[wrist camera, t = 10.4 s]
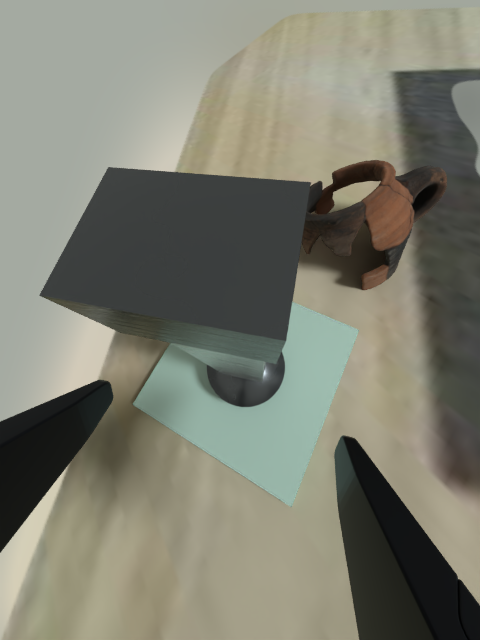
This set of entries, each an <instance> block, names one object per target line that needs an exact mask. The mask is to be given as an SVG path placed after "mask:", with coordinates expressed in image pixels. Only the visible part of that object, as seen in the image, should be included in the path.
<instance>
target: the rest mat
mask: <svg viewBox="0 0 480 640" xmlns="http://www.w3.org/2000/svg"><path fill="white" fill-rule="evenodd" d="M358 332H359V330H358V329H355V328H353V327H351V326H348V325H346V324H344V323H341V322H339V321H337V320H334V319H332V318H329V317H327V316H325V315H322V314H320V313H318V312H315V311H313V310H311V309H308V308H306V307H304V306H301V305H299V304H296V303H294V302H292V307H291V313H290V320H289V326H288V332H287V339H286V343H285V345H284V347H283V349H282V353H283V356H284V361H285V374H284V378H283V381H282V384H281V386H280V388H279V389H278V391H277V392H276V393H275V394H274V395H273V397H271V398H270V399H269V400H268V401H266V402H264V403H262V404H260V405H257V406H253V407H239V406H235V405H231V404H229V403H227V402H226V401H224V400H223V399H221V398H220V397H219V396H218V395H217V394H216V393H215V391H214V390H213V388H212V387H211V385H210V382H209V379H208V375H207V364H205V363H204V362H202V361H200V360H199V359H197V358H195V357H194V356H192V355H190V354H189V353H187V352H185V351H184V350H182V349H180V348H178V347H177V346H175V345H173V344H172V343H170V345H169V346H168V348H167V349H166V351H165V353H164V354H163V356H162V357H161V359H160V361H159V362H158V364H157V366H156V367H155V369H154V370H153V372H152V374H151V375H150V377H149V379H148V380H147V382H146V383H145V385H144V387H143V388H142V390H141V391H140V393H139V395H138V396H137V398H136V400H135V401H134V403H133V404H132V405H134V406H136V407H137V408H139V409H140V410H142V411H143V412H145V413H146V414H148V415H149V416H151V417H153V418H154V419H156V420H157V421H159V422H160V423H162V424H163V425H165V426H166V427H168V428H170V429H171V430H173V431H174V432H176V433H177V434H179V435H180V436H182V437H184V438H185V439H187V440H188V441H190V442H191V443H193V444H194V445H196V446H197V447H199V448H201V449H202V450H204V451H205V452H207V453H208V454H210V455H211V456H213V457H215V458H216V459H218V460H219V461H221V462H222V463H224V464H225V465H227V466H228V467H230V468H232V469H233V470H235V471H236V472H238V473H239V474H241V475H242V476H244V477H245V478H247V479H249V480H250V481H252V482H253V483H255V484H256V485H258V486H259V487H261V488H263V489H264V490H266V491H267V492H269V493H270V494H272V495H273V496H275V497H276V498H278V499H280V500H281V501H283V502H284V503H286V504H287V505H289V506H290V507H292V505H293V502H294V499H295V497H296V494H297V492H298V489H299V486H300V484H301V481H302V478H303V476H304V473H305V471H306V468H307V465H308V463H309V460H310V457H311V455H312V452H313V450H314V447H315V444H316V442H317V439H318V436H319V434H320V431H321V429H322V426H323V423H324V421H325V418H326V416H327V413H328V410H329V408H330V405H331V402H332V400H333V397H334V395H335V392H336V389H337V387H338V384H339V381H340V379H341V376H342V374H343V371H344V368H345V366H346V363H347V361H348V358H349V355H350V353H351V350H352V347H353V345H354V342H355V340H356V337H357V334H358Z"/></svg>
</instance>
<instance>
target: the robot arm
mask: <svg viewBox="0 0 480 640" xmlns="http://www.w3.org/2000/svg"><path fill="white" fill-rule="evenodd" d="M112 401H113V392H112V388H111V384H110V382H108V381H104V380H97V381H95V382H92V383H90V384H88V385H85V386H83V387H81V388H78V389H76V390H74V391H71V392H69V393H67V394H65V395H62V396H59V397H57V398H55V399H52V400H50V401H48V402H46V403H43V404H41V405H38V406H36V407H34V408H31V409H29V410H27V411H24V412H22V413H20V414H17V415H15V416H13V417H10V418H8V419H6V420H3V421H1V422H0V552H1V551H2V550H3V549H4V547H5V546H6V545H7V543H8V542H9V541H10V540H11V538H12V537H13V536H14V534H15V533H16V532H17V530H18V529H19V528H20V527H21V525H22V524H23V523H24V521H25V520H26V519H27V518H28V516H29V515H30V513H31V512H32V511H33V510H34V508H35V507H36V506H37V505H38V503H39V502H40V501H41V499H42V498H43V497H44V496H45V494H46V493H47V492H48V490H49V489H50V488H51V486H52V485H53V484H54V482H55V481H56V480H57V478H58V477H59V476H60V475H61V474H62V472H63V471H64V470H65V468H66V467H67V466H68V464H69V463H70V462H71V461H72V459H73V458H74V457H75V455H76V454H77V453H78V451H79V450H80V449H81V448H82V446H83V445H84V444H85V442H86V441H87V440H88V438H89V437H90V435H91V434H92V432H93V431H94V429H95V428H96V426H97V425H98V423H99V422H100V420H101V418H102V417H103V415H104V414H105V412H106V411H107V409H108V408H109V406H110V404H111V403H112ZM335 473H336V488H337V502H338V511H339V518H340V524H341V530H342V537H343V543H344V549H345V555H346V561H347V567H348V573H349V579H350V585H351V592H352V598H353V604H354V610H355V616H356V622H357V628H358V634H359V640H480V605H479V604H478V602H477V601H476V600H475V598H474V597H473V596H472V594H471V593H470V592H469V590H468V589H467V588H466V586H465V585H464V584H463V582H462V581H461V580H460V579H458V576H457V574H456V573H455V572H454V570H453V569H452V568H451V566H450V565H449V564H448V562H447V561H446V560H445V558H444V557H443V556H442V554H441V553H440V552H439V550H438V549H437V548H436V546H435V545H434V544H433V542H432V541H431V539H430V538H429V537H428V535H427V534H426V533H425V531H424V530H423V529H422V527H421V526H420V525H419V523H418V522H417V521H416V519H415V518H414V517H413V515H412V514H411V513H410V511H409V510H408V509H407V507H406V506H405V505H404V503H403V502H402V501H401V499H400V498H399V496H398V495H397V494H396V492H395V491H394V490H393V488H392V487H391V486H390V484H389V483H388V482H387V480H386V479H385V478H384V476H383V475H382V474H381V472H380V471H379V470H378V468H377V467H376V466H375V464H374V463H373V462H372V460H371V459H370V458H369V456H368V455H367V453H366V452H365V451H364V449H363V448H362V447H361V445H360V444H359V443H358V441H357V440H356V439H355V438H353V437H349V436H344V435H343V436H341V438H340V440H339V442H338V445H337V447H336V449H335Z"/></svg>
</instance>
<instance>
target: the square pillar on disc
mask: <svg viewBox="0 0 480 640" xmlns="http://www.w3.org/2000/svg"><path fill="white" fill-rule="evenodd" d="M310 184H311V182H299V181H285V180H272V179H259V178H245V177H232V176H219V175H205V174H192V173H178V172H165V171H151V170H138V169H124V168H111V167H109V168H108V169H107V171H106V173H105V175H104V176H103V178H102V180H101V182H100V184H99V186H98V188H97V189H96V191H95V193H94V195H93V197H92V199H91V201H90V203H89V204H88V206H87V208H86V210H85V212H84V214H83V215H82V217H81V219H80V221H79V223H78V225H77V227H76V229H75V231H74V232H73V234H72V236H71V238H70V239H69V241H68V243H67V245H66V247H65V249H64V251H63V253H62V254H61V256H60V258H59V260H58V262H57V264H56V266H55V267H54V269H53V271H52V273H51V275H50V277H49V278H48V280H47V283H46V284H45V286H44V288H43V290H42V291H41V293H40V296H42V297H44V298H46V299H49V300H51V301H53V302H55V303H57V304H59V305H61V306H64V307H66V308H68V309H70V310H72V311H74V312H77V313H79V314H81V315H83V316H85V317H88V318H90V319H92V320H94V321H96V322H99V323H101V324H103V325H105V326H107V327H110V328H112V329H114V330H116V331H118V332H120V333H125V334H130V335H135V336H140V337H145V338H150V339H155V340H160V341H165V342H170V343H172V344H173V345H175V346H177V347H178V348H180V349H182V350H184V351H185V352H187V353H189V354H190V355H192V356H194V357H195V358H197V359H199V360H200V361H202V362H204V363H205V364H207V375H208V379H209V382H210V385H211V387H212V388H213V390H214V391H215V393H216V394H217V395H218V396H219V397H220V398H221V399H223V400H224V401H226V402H227V403H229V404H231V405H235V406H239V407H253V406H257V405H260V404H262V403H264V402H266V401H268V400H269V399H270V398H271V397H273V395H274V394H275V393H276V392H277V391H278V389H279V388H280V386H281V384H282V381H283V378H284V374H285V361H284V356H283V353H282V349H283V347H284V345H285V343H286V339H287V332H288V326H289V320H290V313H291V307H292V300H293V294H294V287H295V281H296V274H297V268H298V262H299V255H300V249H301V242H302V236H303V229H304V223H305V216H306V210H307V203H308V197H309V191H310Z"/></svg>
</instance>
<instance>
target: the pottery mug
mask: <svg viewBox="0 0 480 640" xmlns="http://www.w3.org/2000/svg"><path fill="white" fill-rule="evenodd" d="M395 173H396V171H395V169H394V167H393V166H392V165H391V164H389V163H388V162H385V161H379V160H372V161H364V162H359V163H356V164H352V165H349V166H346V167H343V168H341V169H339V170H336V171H335V172H333V173H332V179H333V184H331V185H330V186H328V187H326V188H325V189H323V190H322V181H319V182H317V183H315V184H313V185H312V186H311V187H310V191H309V197H308V203H307V210H306V216H305V223H304V229H303V236H302V244H303V248H304V250H305V252H306V253H307V254H310V252H311V248H312V246H313V244H314V243H315V242H316V240H317V239H318V237H319V236H320V235H321V237H322V241H323V242H324V243H325V245H326V246H328V247H329V248H331V249H332V250H333V252H334V253H335V254H336V255H338V256H349V255H351V243H352V242H353V241H354V239H355V237H356V235H357V233H358V231H359V229H360V228H361V226H362V225H363V223H366V225H367V227H368V229H369V232H370V240H371V244H372V246H373V247H374V248H375V249H376V250H378V251H383V250H385V255H386V260H385V263H384V264H383V265H381V266H379V267H378V268H375V269H374V270H371V271H369V272H367V273H364V274H362V276H361V279H362V290H367V289H371V288H373V287H375V286H377V285H379V284H381V283H383V282H384V281H385V280H387V279H388V278H389V277H391V276H392V274H393V273H394V272H395V270H396V268H397V266H398V263H399V260H400V258H401V255H402V252H403V250H404V248H405V246H406V243H407V240H408V238H409V236H410V233H411V230H412V226H413V223H415V222H416V221H417V220H418V219H420V218H421V217H423V216H424V215H425V214H426V213H427V212H429V211H430V210H431V209H432V208H433V207H434V206H435V205H436V203H437V202H438V201H439V200H440V199H441V197H442V195H443V194H444V192H445V190H446V187H447V176H446V173H445V171H444V170H443V169H441V168H439V167H433V166H424V167H420V168H417V169H415V170H413V171H411V172H408V173H406V174H404V175H401V176H395ZM366 181H381V183H380V184H379V186H378V187H377V188H376V189H375V190H374V191H373V192H372V193H371V194H369V195H368V196H367V197H366V198H364V199H363V200H362V201H361V202H358V203H356V204H354V205H352V206H350V207H348V208H345V209H343V210H340V211H337V212H332V213H328V212H329V211H330V210H331V209H332V208H333V207H334V201H333V199H332V197H333V192H334V191H337V190H338V189H341V188H343V187H346V186H348V185H350V184H354V183H359V182H366ZM314 211H315V213H317V214H318V215H316V214H311V213H312V212H314ZM327 213H328V214H327Z"/></svg>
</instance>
